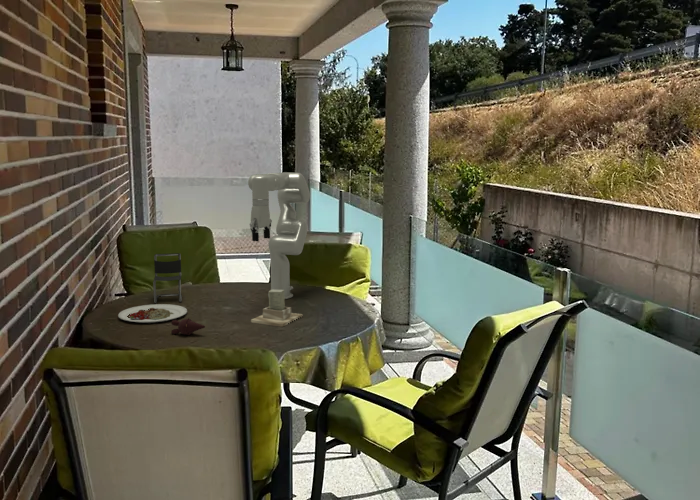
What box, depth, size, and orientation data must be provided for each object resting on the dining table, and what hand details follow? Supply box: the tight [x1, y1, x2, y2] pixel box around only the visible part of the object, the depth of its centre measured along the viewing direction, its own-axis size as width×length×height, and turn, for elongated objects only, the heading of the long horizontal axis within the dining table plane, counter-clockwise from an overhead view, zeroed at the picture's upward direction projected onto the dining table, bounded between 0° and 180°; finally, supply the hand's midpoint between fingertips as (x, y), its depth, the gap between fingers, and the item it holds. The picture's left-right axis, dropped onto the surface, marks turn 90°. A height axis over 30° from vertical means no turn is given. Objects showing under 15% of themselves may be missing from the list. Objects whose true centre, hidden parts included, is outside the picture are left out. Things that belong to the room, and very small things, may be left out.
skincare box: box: [268, 288, 286, 311], centre depth 292 cm, size 6×4×12 cm
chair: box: [152, 252, 183, 304], centre depth 327 cm, size 13×17×22 cm
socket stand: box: [250, 306, 304, 328], centre depth 293 cm, size 18×16×5 cm
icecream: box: [170, 318, 206, 336], centre depth 269 cm, size 7×8×15 cm
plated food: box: [117, 303, 188, 324], centre depth 298 cm, size 30×30×3 cm
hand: (261, 239), depth 306 cm, fingers open, 9 cm apart
